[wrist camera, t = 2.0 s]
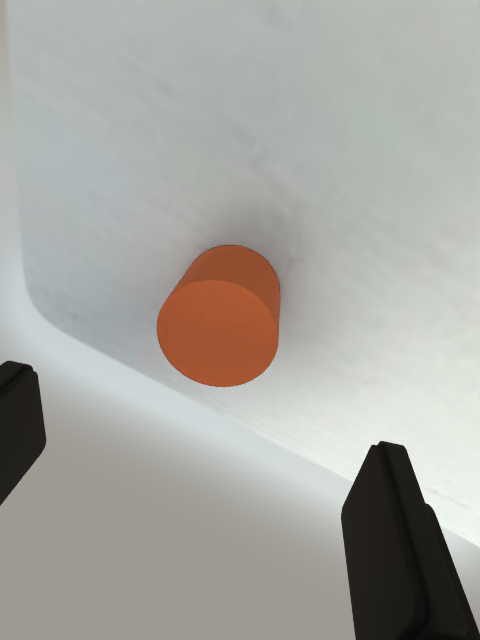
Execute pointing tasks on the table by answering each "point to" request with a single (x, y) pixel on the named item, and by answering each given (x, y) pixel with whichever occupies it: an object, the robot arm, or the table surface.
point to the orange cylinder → (222, 318)
